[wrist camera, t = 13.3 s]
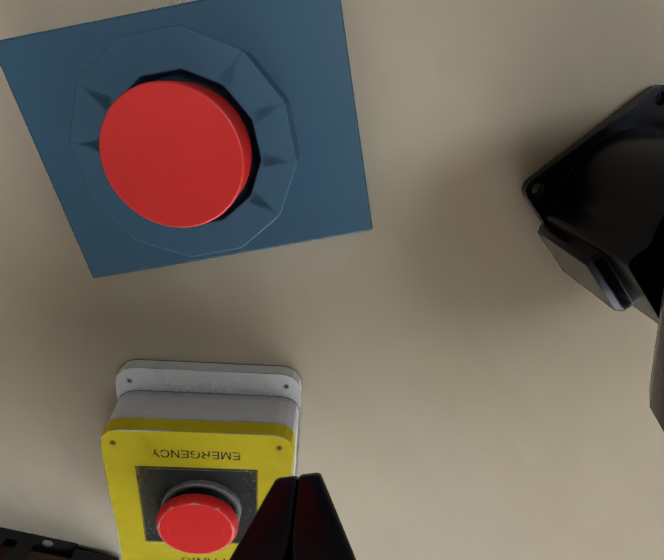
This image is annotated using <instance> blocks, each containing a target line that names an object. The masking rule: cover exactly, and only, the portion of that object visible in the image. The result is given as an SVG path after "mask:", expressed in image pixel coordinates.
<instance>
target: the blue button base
mask: <svg viewBox="0 0 664 560" xmlns="http://www.w3.org/2000/svg"><path fill="white" fill-rule="evenodd" d="M0 65H1V67H2V70H3V72H4V74H5V77H6V79H7V81H8V84H9V86H10V88H11V90H12V93H13V95H14V97H15V100H16V102H17V104H18V106H19V109H20V111H21V113H22V116H23V118H24V120H25V122H26V125H27V127H28V129H29V132H30V134H31V136H32V139H33V141H34V143H35V145H36V148H37V150H38V152H39V155H40V157H41V159H42V161H43V164H44V166H45V168H46V171H47V173H48V175H49V177H50V180H51V182H52V184H53V187H54V189H55V191H56V193H57V196H58V198H59V200H60V203H61V205H62V207H63V210H64V212H65V214H66V216H67V219H68V221H69V223H70V226H71V228H72V230H73V232H74V235H75V237H76V239H77V242H78V244H79V246H80V248H81V251H82V253H83V255H84V258H85V260H86V262H87V265H88V267H89V269H90V271H91V274H92V276H93V278H99V277H105V276H111V275H116V274H122V273H128V272H134V271H140V270H145V269H151V268H157V267H163V266H168V265H174V264H180V263H186V262H191V261H197V260H203V259H209V258H214V257H220V256H226V255H232V254H237V253H243V252H249V251H255V250H260V249H266V248H272V247H278V246H283V245H289V244H295V243H301V242H307V241H312V240H318V239H324V238H330V237H335V236H341V235H347V234H353V233H358V232H364V231H370V230H372V221H371V214H370V207H369V199H368V192H367V185H366V178H365V171H364V164H363V157H362V150H361V142H360V135H359V128H358V121H357V114H356V107H355V100H354V93H353V85H352V78H351V71H350V64H349V57H348V50H347V43H346V36H345V28H344V21H343V14H342V7H341V0H198V1H193V2H188V3H183V4H178V5H173V6H168V7H163V8H158V9H153V10H148V11H143V12H138V13H133V14H128V15H123V16H118V17H113V18H108V19H103V20H98V21H93V22H88V23H83V24H78V25H73V26H68V27H63V28H58V29H53V30H48V31H43V32H38V33H33V34H28V35H23V36H18V37H13V38H8V39H3V40H0ZM152 81H186V82H192V83H196V84H199V85H202V86H205V87H207V88H209V89H211V90H213V91H214V92H216V93H218V94H219V95H220V96H222V97H223V98H224V99H225V100H227V101H228V102H229V104H230V105H231V106H232V107H233V108H234V109H235V110H236V112H237V113H238V114H239V116H240V117H241V119H242V121H243V122H244V125H245V127H246V129H247V131H248V135H249V138H250V142H251V148H252V165H251V170H250V174H249V177H248V180H247V182H246V184H245V186H244V188H243V189H242V191H241V192H240V194H239V195H238V196H237V198H236V199H235V201H234V202H233V203H232V205H231V206H230V207H229V208H228V209H227V210H226V211H225V212H224V213H223V214H222V215H220V216H219V217H218V218H216V219H214V220H212V221H210V222H208V223H205V224H203V225H199V226H195V227H186V228H182V227H170V226H165V225H162V224H158V223H156V222H153V221H150V220H148V219H146V218H145V217H143V216H141V215H139V214H138V213H136V212H135V211H134V210H132V209H131V208H130V207H129V206H128V205H126V204H125V203H124V201H123V200H122V199H121V198H120V197H119V196H118V195H117V193H116V192H115V191H114V189H113V188H112V186H111V184H110V183H109V181H108V179H107V177H106V174H105V172H104V169H103V166H102V163H101V158H100V150H99V139H100V131H101V126H102V123H103V120H104V118H105V115H106V113H107V112H108V110H109V108H110V107H111V105H112V104H113V103H114V102H115V100H116V99H117V98H118V97H120V96H121V95H122V94H123V93H124V92H126V91H127V90H129V89H130V88H133V87H135V86H137V85H139V84H143V83H147V82H152Z"/></svg>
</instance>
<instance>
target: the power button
mask: <svg viewBox="0 0 664 560" xmlns="http://www.w3.org/2000/svg"><path fill="white" fill-rule="evenodd" d="M99 150H100V158H101V163H102V166H103V169H104V172H105V174H106V177H107V179H108V181H109V183H110V184H111V186H112V188H113V189H114V191H115V192H116V193H117V195H118V196H119V197H120V198H121V199H122V200H123V201H124V203H125V204H126V205H128V206H129V207H130V208H131V209H132V210H134V211H135V212H136V213H138V214H139V215H141V216H143V217H145V218H146V219H148V220H150V221H153V222H156V223H158V224H162V225H165V226H170V227H182V228H186V227H195V226H199V225H203V224H205V223H208V222H210V221H212V220H214V219H216V218H218V217H219V216H220V215H222V214H223V213H224V212H225V211H226V210H227V209H228V208H229V207H230V206H231V205H232V203H233V202H234V201H235V199H236V198H237V196H238V195H239V194H240V192H241V191H242V189H243V188H244V186H245V184H246V182H247V180H248V177H249V174H250V170H251V165H252V148H251V142H250V138H249V135H248V131H247V129H246V127H245V125H244V122H243V121H242V119H241V117H240V116H239V114H238V113H237V112H236V110H235V109H234V108H233V107H232V106H231V105H230V104H229V102H228V101H227V100H225V99H224V98H223V97H222V96H220V95H219V94H218V93H216V92H214V91H213V90H211V89H209V88H207V87H205V86H202V85H199V84H196V83H192V82H186V81H152V82H147V83H143V84H139V85H137V86H135V87H133V88H130V89H129V90H127V91H126V92H124V93H123V94H122V95H121V96H120V97H118V98H117V99H116V100H115V102H114V103H113V104H112V105H111V107H110V108H109V110H108V112H107V113H106V115H105V118H104V120H103V123H102V126H101V131H100V139H99Z"/></svg>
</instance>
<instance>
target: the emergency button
mask: <svg viewBox="0 0 664 560" xmlns="http://www.w3.org/2000/svg"><path fill="white" fill-rule="evenodd" d="M115 388H116V395H117V402H118V403H117V405H116V407H115V409H114V411H113V413H112V415H111V418H110V420H109V422H108V423H107V424H106V426H105V429H104V431H103V434H102V437H101V442H100V444H101V450H102V455H103V461H104V466H105V472H106V477H107V483H108V489H109V494H110V500H111V505H112V511H113V516H114V522H115V527H116V533H117V538H118V544H119V549H120V555H121V560H229V559H230V557H231V556H232V554H233V552H234V550H235V549H236V547H237V545H238V543H239V542H240V540H241V538H242V537H243V535H244V533H245V531H246V530H247V528H248V526H249V524H250V523H251V521H252V519H253V518H254V516H255V514H256V512H257V511H258V509H259V507H260V505H261V504H262V502H263V500H264V499H265V497H266V495H267V493H268V492H269V490H270V488H271V486H272V485H273V483H274V481H275V480H276V479H277V478H280V477H287V476H297V459H298V442H299V425H300V409H301V392H302V383H301V379H300V376H299V375H298V374H297V373H296V371H295V370H294V369H291V368H287V367H283V366H261V365H240V364H219V363H198V362H176V361H155V360H133V361H128V362H127V363H126V364H125V365H124V366H123V367H122V368H121V369H120V371H119V373H118V374H117V376H116V382H115Z"/></svg>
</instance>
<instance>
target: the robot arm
mask: <svg viewBox="0 0 664 560" xmlns="http://www.w3.org/2000/svg"><path fill="white" fill-rule="evenodd" d="M659 93H661V100H660V102H659V103H658V104H656V102H655V99H656V97H657V95H658V94H659ZM537 183H539V186H540V187H539V190H538V191H537V192H535V193H532V191H531V190H532V187H533V186H534V185H535V184H537ZM522 193H523V195H524V197H525V198H526V200H527V201H528V203H529V204H530V206H531V207H532V209H533V210H534V212H535V213H536V215H537V217H538V218H539V220H540V221H541V223H542V224H541V225H540V226H539V230H538V234H539V235H540V237H541V238H542V240H543V241H544V243H545V244H546V246H547V247H548V249H549V250H550V252H551V253H552V255H553V256H554V258H555V259H556V261H557V262H558V264H559V265H560V267H561V268H562V270H563V271H564V272H565V273H567V274H568V275H569V276H570V277H572V278H573V279H574V280H576V281H577V282H578V283H580V284H581V285H582V286H583V287H585V288H586V289H587V290H589V291H590V292H591V293H593V294H594V295H595V296H596V297H598V298H599V299H600V300H602V301H603V302H604V303H605V304H607V305H608V306H609V307H611V308H612V309H613V310H617V311H624V310H626V309H627V308H629V307H631V306H632V305H633V306H634V307H635V308H637V309H638V310H640V311H641V312H642V313H644V314H645V315H647V316H648V317H649V318H651V319H652V320H654V321H655V322H656V323H658V329H657V337H656V344H655V351H654V359H653V366H652V373H651V380H650V408H651V410H652V412H653V413H654V415H655V417H656V419H657V420H658V422H659V424H660V426H661V428H662V429H663V431H664V85H655V86H653V87H651V88H649V89H648V90H646V91H645V92H644V93H642V94H641V95H640V96H638V97H637V98H636V99H634V100H633V101H632V102H630V103H629V104H627V105H626V106H625V107H623V108H622V109H621V110H619V111H618V112H617V113H615V114H614V115H613V116H611V117H610V118H609V119H607V120H606V121H605V122H603V123H602V124H600V125H599V126H598V127H596V128H595V129H594V130H592V131H591V132H590V133H588V134H587V135H586V136H584V137H583V138H582V139H580V140H579V141H578V142H576V143H575V144H573V145H572V146H571V147H569V148H568V149H567V150H565V151H564V152H563V153H561V154H560V155H559V156H557V157H556V158H555V159H553V160H552V161H551V162H549V163H548V164H546V165H545V166H544V167H542V168H541V169H540V170H538V171H537V172H536V173H534V174H533V175H532V176H530V177H529V178H528V179H527V180H526V181H525V182H524V184H523V186H522ZM229 560H356V558H355V556H354V553H353V551H352V548H351V546H350V544H349V541H348V539H347V536H346V534H345V531H344V529H343V526H342V524H341V522H340V519H339V517H338V514H337V512H336V509H335V507H334V504H333V502H332V500H331V497H330V495H329V492H328V490H327V487H326V485H325V483H324V480H323V478H322V476H321V474H320V473H310V474H303V475H301V476H300V477H299V478H298V477H297V476H287V477H280V478H277V479H276V480H275V481H274V483H273V485H272V486H271V488H270V490H269V492H268V493H267V495H266V497H265V499H264V500H263V502H262V504H261V505H260V507H259V509H258V511H257V512H256V514H255V516H254V518H253V519H252V521H251V523H250V524H249V526H248V528H247V530H246V531H245V533H244V535H243V537H242V538H241V540H240V542H239V543H238V545H237V547H236V549H235V550H234V552H233V554H232V556H231V557H230V559H229Z"/></svg>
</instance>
